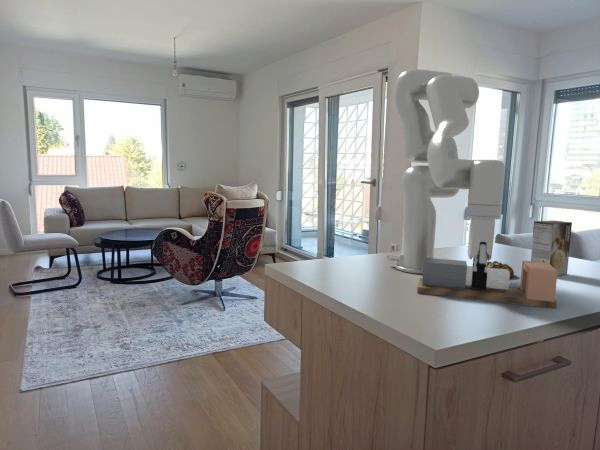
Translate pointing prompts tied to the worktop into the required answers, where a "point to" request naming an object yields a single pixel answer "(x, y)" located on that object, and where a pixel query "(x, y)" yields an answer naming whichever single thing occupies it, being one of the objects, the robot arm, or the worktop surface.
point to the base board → (486, 295)
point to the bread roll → (500, 266)
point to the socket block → (538, 280)
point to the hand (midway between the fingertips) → (478, 285)
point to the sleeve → (444, 273)
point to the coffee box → (552, 244)
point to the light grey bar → (491, 277)
